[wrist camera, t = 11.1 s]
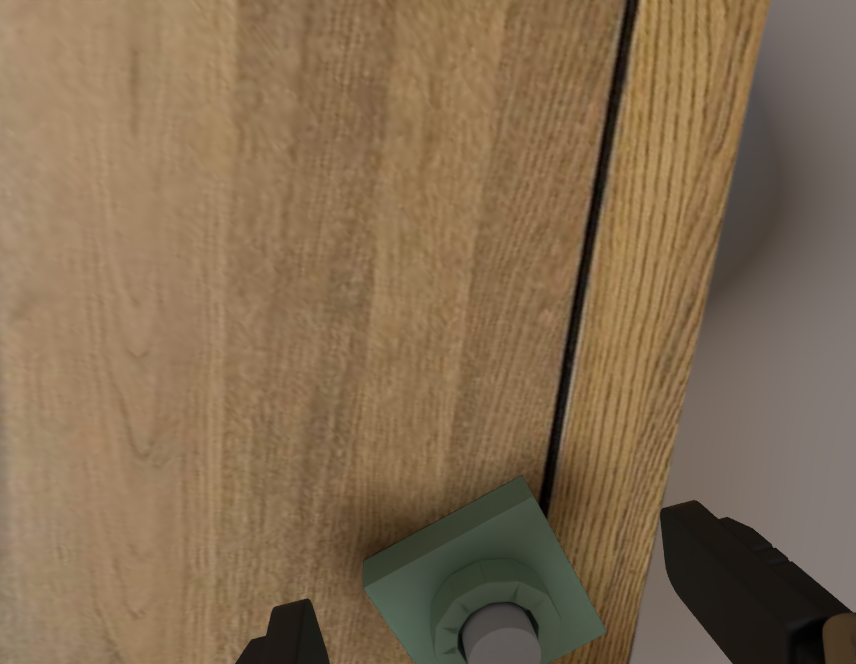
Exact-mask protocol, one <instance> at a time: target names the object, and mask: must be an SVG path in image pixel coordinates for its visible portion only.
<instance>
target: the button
mask: <svg viewBox="0 0 856 664" xmlns="http://www.w3.org/2000/svg"><path fill="white" fill-rule="evenodd" d="M462 640H463V645H464V649H465V654H466V658H467V662H468V664H540V660H541V648H540V644H539V642H538V639H537V637H536V634H535V632H534V629H533V627H532V624H531V622H530V619H529V617H528V615H527V614H526V612H525V611H524V610H523V609H521V608H520V607H518V606H517V605H514V604H512V603H508V602H497V603H490V604H487V605H485V606H483V607H482V608H480V609H478V610H476V611H475V612H474V613H472V614H471V615H470V617H469V618H468V619H467V621H466V623H465V625H464V628H463V632H462Z"/></svg>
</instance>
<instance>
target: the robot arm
mask: <svg viewBox="0 0 856 664" xmlns="http://www.w3.org/2000/svg"><path fill="white" fill-rule="evenodd" d="M660 521H661V530H662V539H663V549H664V558H665V565H666V570H667V574H668V577H669V580H670V582H671V584H672V586H673V588H674V590H675V592H676V593H677V594H678V596H679V597H680V599H681V600H682V601H683V602H684V604H685V605H686V606H687V607H688V609H689V610H690V611H691V612H692V614H693V615H694V616H695V617H696V619H697V620H698V621H699V622H700V623H701V625H702V626H703V627H704V629H705V630H706V631H707V632H708V634H709V635H710V636H711V637H712V639H713V640H714V641H715V642H716V643H717V645H718V646H719V647H720V649H721V650H722V651H723V652H724V654H725V655H726V656H727V657H728V659H729V660H730V661H731V662H732V663H733V664H856V613H853V612H852V611H851V610H850V609H848V608H847V607H846V606H845V605H844V604H842V603H841V602H840V601H839V600H838V599H837V598H835V597H834V596H833V595H832V594H831V593H829V592H828V591H827V590H826V589H825V588H823V587H822V586H821V585H820V584H819V583H817V582H816V581H815V580H814V579H813V578H811V577H810V576H809V575H808V574H806V573H805V572H804V571H803V570H802V569H801V568H799V567H798V566H797V565H796V564H795V563H793V562H792V561H791V562H790V561H789V560H788V558H787V557H786V556H785V555H784V554H782V553H781V552H780V551H779V550H778V549H777V548H773V547H772V544H771V543H770V542H768V541H767V540H766V539H765V538H764V537H762V536H761V535H760V534H759V533H758V532H756V531H755V530H754V529H753V528H750V527H748V526H746V525H744V524H742V523H740V522H737V521H735V520H733V519H731V518H728V517H725V518H721V519H718V518H716V517H715V516H714V515H713V514H712V513H711V512H709V511H708V510H707V509H706V508H705V507H704V506H703V505H702V504H701V503H699V502H698V501H695V500H692V501H688V502H685V503H681V504H677V505H673V506H669V507H665V508H662V509H661V512H660ZM235 664H330V663H329V658H328V654H327V650H326V647H325V644H324V641H323V638H322V634H321V631H320V628H319V625H318V621H317V618H316V615H315V612H314V609H313V606H312V603H311V601H310V600H309V599H308V598H307V599H303V600H299V601H295V602H291V603H288V604H284V605H280V606H276V607H274V608H273V610H272V613H271V617H270V621H269V625H268V630H267V634H266V636H263V637H259V638H256V639H252V640H251V641H250V642H249V644H248V645H247V647H246V648H245V650H244V651H243V653H242V654H241V656H240V657H239V659H238V660H237V661H236V663H235Z"/></svg>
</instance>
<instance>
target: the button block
mask: <svg viewBox="0 0 856 664" xmlns="http://www.w3.org/2000/svg"><path fill="white" fill-rule="evenodd" d="M363 589H364V590H365V592H366V593H367V595H368V596H369V598H370V599H371V601H372V602H373V603H374V605H375V606H376V608H377V609H378V611H379V612H380V614H381V615H382V617H383V618H384V619H385V621H386V622H387V624H388V625H389V627H390V628H391V630H392V631H393V633H394V634H395V635H396V637H397V638H398V640H399V641H400V643H401V644H402V646H403V647H404V649H405V650H406V651H407V653H408V654H409V656H410V657H411V659H412V660H413V662H414V663H415V664H468V662H467V658H466V654H465V649H464V645H463V640H462V632H463V628H464V625H465V623H466V621H467V619H468V618H469V617H470V615H471V614H472V613H474V612H475V611H476V610H478V609H480V608H482V607H483V606H485V605H487V604H490V603H497V602H508V603H512V604H514V605H517V606H518V607H520V608H521V609H523V610H524V611H525V612H526V614H527V615H528V617H529V619H530V622H531V624H532V627H533V629H534V632H535V634H536V637H537V639H538V642H539V644H540V648H541V660H540V664H549V663H551V662H553V661H555V660H557V659H559V658H561V657H563V656H564V655H566V654H568V653H570V652H572V651H574V650H576V649H577V648H579V647H581V646H583V645H585V644H587V643H589V642H590V641H592V640H594V639H596V638H598V637H600V636H602V635H604V634H605V633H607V631H606V629H605V627H604V625H603V623H602V622H601V620H600V618H599V616H598V614H597V612H596V610H595V609H594V607H593V605H592V603H591V601H590V599H589V597H588V596H587V594H586V592H585V590H584V588H583V586H582V584H581V583H580V581H579V579H578V577H577V575H576V573H575V571H574V570H573V568H572V566H571V564H570V562H569V560H568V558H567V557H566V555H565V553H564V551H563V549H562V547H561V545H560V544H559V542H558V540H557V538H556V536H555V534H554V532H553V531H552V529H551V527H550V525H549V523H548V521H547V519H546V518H545V516H544V514H543V512H542V510H541V508H540V507H539V505H538V503H537V501H536V499H535V497H534V495H533V494H532V492H531V490H530V489H529V487H528V485H527V483H526V482H525V480H524V478H523V476H520V477H518V478H516V479H514V480H512V481H510V482H509V483H507V484H505V485H503V486H501V487H499V488H497V489H496V490H494V491H492V492H490V493H488V494H486V495H484V496H483V497H481V498H479V499H477V500H475V501H473V502H472V503H470V504H468V505H466V506H464V507H462V508H460V509H459V510H457V511H455V512H453V513H451V514H449V515H448V516H446V517H444V518H442V519H440V520H438V521H436V522H435V523H433V524H431V525H429V526H427V527H425V528H423V529H422V530H420V531H418V532H416V533H414V534H412V535H411V536H409V537H407V538H405V539H403V540H401V541H399V542H398V543H396V544H394V545H392V546H390V547H388V548H387V549H385V550H383V551H381V552H379V553H377V554H375V555H374V556H372V557H370V558H368V559H366V560H364V561H363Z"/></svg>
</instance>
